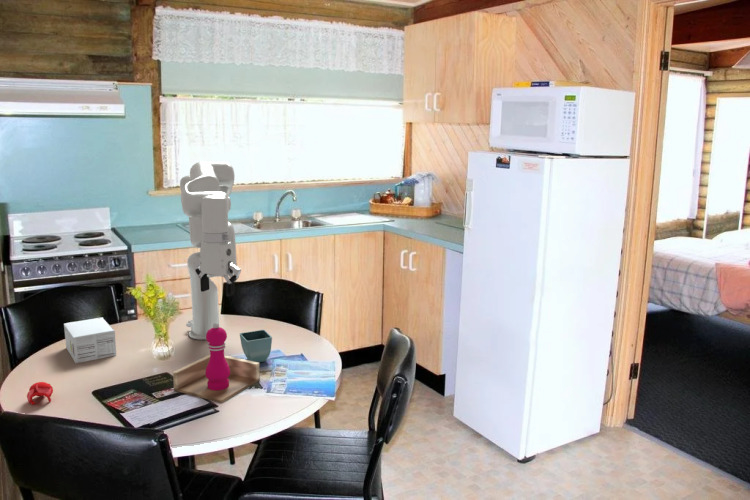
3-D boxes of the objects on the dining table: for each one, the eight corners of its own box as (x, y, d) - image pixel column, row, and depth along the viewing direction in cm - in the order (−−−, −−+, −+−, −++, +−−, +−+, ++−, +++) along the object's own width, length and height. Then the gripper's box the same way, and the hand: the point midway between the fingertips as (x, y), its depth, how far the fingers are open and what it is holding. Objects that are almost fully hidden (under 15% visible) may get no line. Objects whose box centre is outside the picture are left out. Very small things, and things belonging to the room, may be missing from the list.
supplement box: (65, 348, 220) (63, 323, 218) (105, 341, 227) (103, 316, 226) (75, 363, 206) (72, 336, 205) (117, 355, 214) (115, 329, 212)
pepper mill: (232, 381, 192) (230, 318, 188) (228, 391, 185) (226, 326, 181) (208, 381, 192) (205, 319, 188) (203, 391, 185) (201, 326, 180)
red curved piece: (55, 393, 176) (56, 376, 180) (32, 391, 173) (33, 374, 177) (47, 410, 180) (48, 393, 184) (23, 408, 177) (25, 391, 181)
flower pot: (247, 367, 205) (246, 341, 204) (239, 358, 213) (239, 332, 211) (273, 362, 209) (272, 337, 208) (264, 354, 217) (264, 329, 215)
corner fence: (173, 387, 187) (172, 372, 186) (214, 367, 203) (213, 352, 202) (221, 400, 179) (220, 383, 178) (259, 377, 195) (259, 362, 194)
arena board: (173, 390, 187) (173, 387, 187) (214, 369, 203) (214, 367, 203) (221, 402, 179) (221, 400, 179) (259, 380, 195) (259, 377, 195)
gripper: (247, 238, 185) (248, 294, 189) (201, 232, 193) (203, 285, 196) (230, 243, 179) (232, 300, 182) (184, 236, 186) (186, 291, 190)
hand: (217, 292), depth 189 cm, fingers open, 9 cm apart
